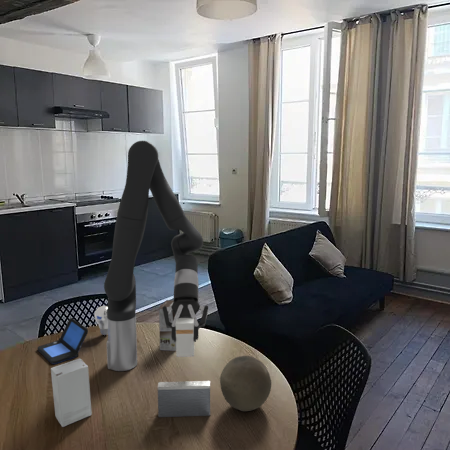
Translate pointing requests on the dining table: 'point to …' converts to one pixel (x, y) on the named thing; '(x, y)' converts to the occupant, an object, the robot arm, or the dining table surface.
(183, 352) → the block
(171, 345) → the coffee box
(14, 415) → the dining table surface
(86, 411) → the skincare box
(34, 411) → the dining table surface
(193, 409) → the grey flat box
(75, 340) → the handheld game console
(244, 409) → the cantaloupe
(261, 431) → the dining table surface
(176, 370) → the dining table surface
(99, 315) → the light bulb
